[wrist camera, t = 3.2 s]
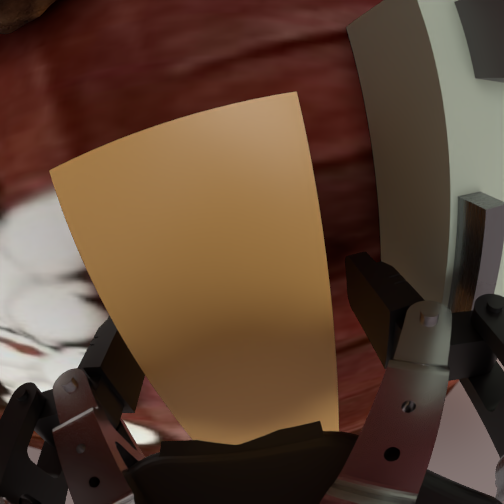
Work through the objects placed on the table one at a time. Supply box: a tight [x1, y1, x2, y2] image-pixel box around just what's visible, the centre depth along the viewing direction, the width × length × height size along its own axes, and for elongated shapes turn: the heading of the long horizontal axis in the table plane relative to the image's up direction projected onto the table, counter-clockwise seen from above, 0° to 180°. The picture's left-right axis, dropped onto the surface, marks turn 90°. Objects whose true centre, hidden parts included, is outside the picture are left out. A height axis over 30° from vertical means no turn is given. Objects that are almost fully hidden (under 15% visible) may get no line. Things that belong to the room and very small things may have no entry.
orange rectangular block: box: [49, 92, 339, 445], centre depth 10 cm, size 12×5×6 cm, turn 13°
